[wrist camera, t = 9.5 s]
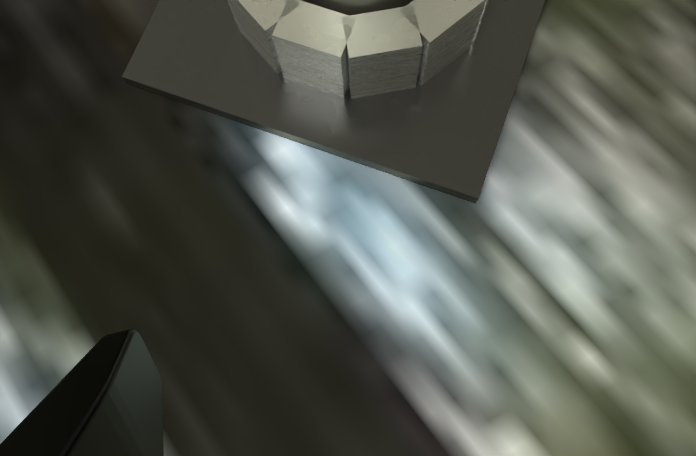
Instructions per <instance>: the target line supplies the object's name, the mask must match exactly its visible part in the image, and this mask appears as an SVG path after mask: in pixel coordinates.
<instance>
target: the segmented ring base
mask: <svg viewBox="0 0 696 456" xmlns="http://www.w3.org/2000/svg"><path fill="white" fill-rule="evenodd" d="M544 3H545V0H413V1H412V2H411V3H409V4H408V5H407V6H405V7H399V8H393V9H387V10H381V11H375V12H369V13H363V14H357V15H351V16H349V15H345V14H342V13H339V12H336V11H333V10H330V9H326V8H323V7H320V6H317V5H314V4H311V3H307V2H304V1H301V0H160V1H159V3H158V5H157V7H156V9H155V11H154V13H153V15H152V17H151V19H150V21H149V23H148V25H147V27H146V29H145V31H144V33H143V35H142V37H141V39H140V41H139V43H138V45H137V47H136V49H135V51H134V53H133V56H132V58H131V60H130V62H129V64H128V66H127V68H126V70H125V72H124V74H123V76H122V77H123V79H124V80H125V81H126V82H127V84H129V85H132V86H135V87H138V88H141V89H144V90H147V91H150V92H152V93H155V94H158V95H161V96H164V97H167V98H170V99H173V100H176V101H179V102H182V103H185V104H187V105H190V106H193V107H196V108H199V109H202V110H205V111H208V112H211V113H214V114H217V115H220V116H222V117H225V118H228V119H231V120H234V121H237V122H240V123H243V124H246V125H249V126H252V127H255V128H257V129H260V130H263V131H266V132H269V133H272V134H275V135H278V136H281V137H284V138H287V139H290V140H293V141H295V142H298V143H301V144H304V145H307V146H310V147H313V148H316V149H319V150H322V151H325V152H328V153H330V154H333V155H336V156H339V157H342V158H345V159H348V160H351V161H354V162H357V163H360V164H363V165H365V166H368V167H371V168H374V169H377V170H380V171H383V172H386V173H389V174H392V175H395V176H398V177H400V178H403V179H406V180H409V181H412V182H415V183H418V184H421V185H424V186H427V187H430V188H433V189H435V190H438V191H441V192H444V193H447V194H450V195H453V196H456V197H459V198H462V199H465V200H468V201H471V202H473V203H476V201H477V200H478V198H479V195H480V192H481V189H482V186H483V183H484V180H485V177H486V174H487V171H488V168H489V165H490V162H491V159H492V156H493V154H494V151H495V148H496V145H497V142H498V139H499V136H500V133H501V130H502V127H503V124H504V121H505V118H506V115H507V112H508V109H509V106H510V103H511V100H512V97H513V94H514V91H515V88H516V85H517V82H518V80H519V77H520V74H521V71H522V68H523V65H524V62H525V59H526V56H527V53H528V50H529V47H530V44H531V41H532V38H533V35H534V32H535V29H536V26H537V23H538V20H539V17H540V14H541V11H542V8H543V6H544Z"/></svg>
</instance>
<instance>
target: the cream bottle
mask: <svg viewBox="0 0 696 456" xmlns="http://www.w3.org/2000/svg"><path fill="white" fill-rule="evenodd" d="M301 1H304V2H307V3H311V4H314V5H317V6H320V7H323V8H326V9H330V10H333V11H336V12H339V13H342V14H345V15H349V16H351V15H357V14H363V13H369V12H375V11H381V10H387V9H393V8H399V7H405V6H407V5H408V4H409V3H411V2H412V1H413V0H301Z"/></svg>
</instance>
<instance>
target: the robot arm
mask: <svg viewBox="0 0 696 456" xmlns="http://www.w3.org/2000/svg"><path fill="white" fill-rule="evenodd" d="M0 456H164V455H163V401H162V383H161V378H160V375H159V372H158V370H157V368H156V366H155V364H154V362H153V360H152V358H151V356H150V354H149V352H148V350H147V347H146V345H145V343H144V341H143V339H142V337H141V336H140V334H139V333H138V332H137V331H135V330H133V329H129V330H125V331H121V332H117V333H113V334H109V335H106V336H104V337H103V338H102V339H101V340H100V341H99V342H98V343H97V344H96V345H95V346H94V347H93V348H92V349H91V350H90V351H89V352H88V353H87V354H86V355H85V356H84V357H83V358H82V359H81V360H80V362H79V363H78V364H77V365H76V366H75V367H74V368H73V369H72V370H71V371H70V372H69V373H68V374H67V375H66V376H65V377H64V378H63V379H62V380H61V381H60V382H59V383H58V385H57V386H56V387H55V388H54V389H53V390H52V391H51V392H50V393H49V394H48V395H47V396H46V397H45V398H44V399H43V400H42V401H41V402H40V403H39V404H38V405H37V406H36V408H35V409H34V410H33V411H32V412H31V413H30V414H29V415H28V416H27V417H26V418H25V419H24V420H23V421H22V422H21V423H20V424H19V425H18V426H17V427H16V428H15V429H14V430H13V432H12V433H11V434H10V435H9V436H8V437H7V438H6V439H5V440H4V441H3V442H2V443H1V444H0Z"/></svg>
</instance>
